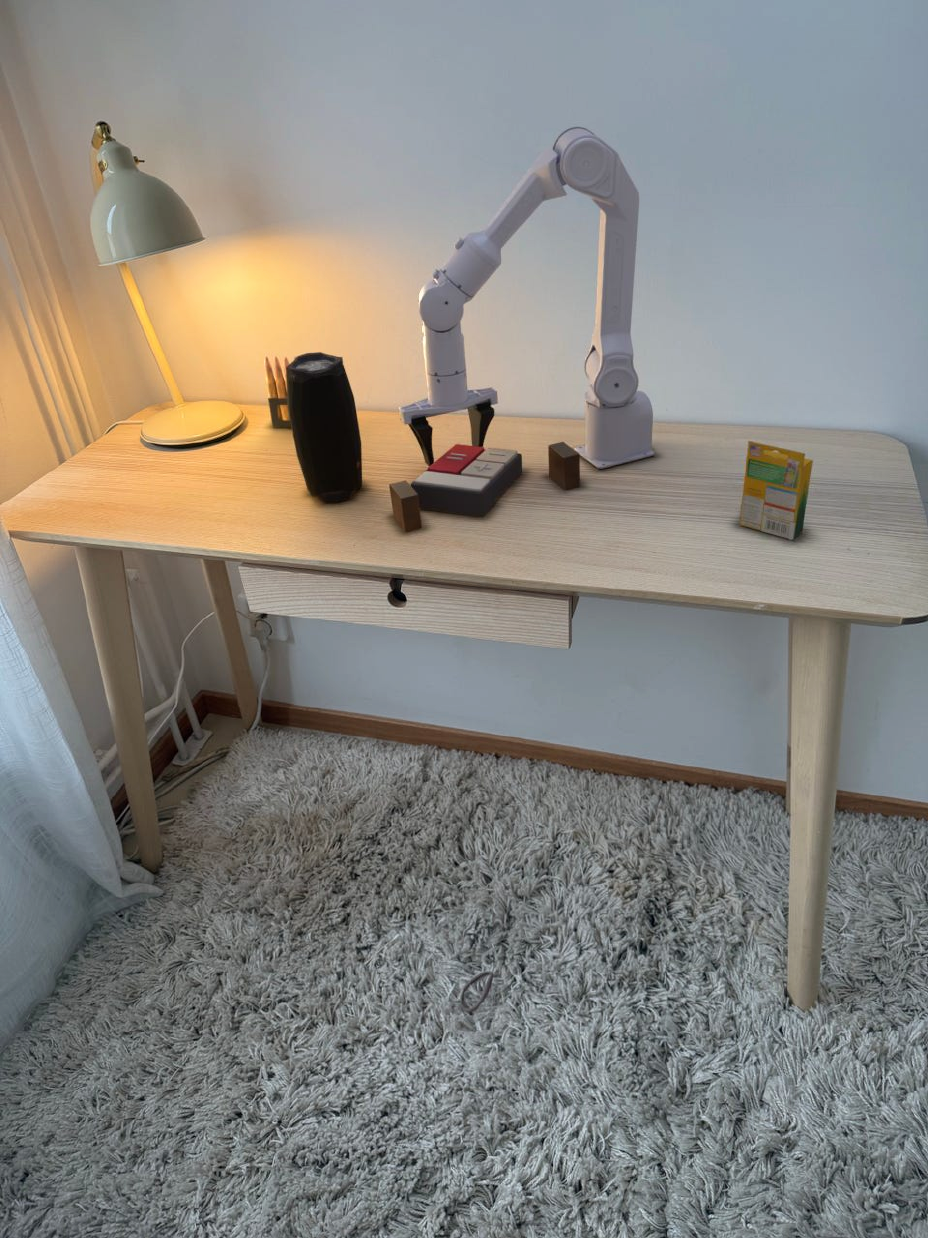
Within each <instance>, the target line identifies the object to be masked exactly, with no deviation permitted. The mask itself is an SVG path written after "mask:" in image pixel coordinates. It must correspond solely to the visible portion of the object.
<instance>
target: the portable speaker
mask: <svg viewBox="0 0 928 1238" xmlns="http://www.w3.org/2000/svg"><path fill="white" fill-rule="evenodd" d="M295 357H296V358H295V359H294V358H293V360H294V361H293V360H292V361H291V362H289V365H288V366H287V367H286V381H287V407H288V413H289V418H290V423H291V427H290V428H291V433H292V438H293V442H294V448H295V453H296V457H297V461H298V465H299V466H300V470H301V473H302V476H303V480H304V482H305V485H306V489H307V491H308V492H309V494H310V495H312V494H313V495H314V496H316V497H318V498H319V499H320V500H322V501H323V502H324V503H326V504H332V503H333V504H334V503H339V502H340V503H341V502H344V501H347V500H350V498H351V496H352V495H353V493H354V492H355V491H356V490H358V489H360V488H363V456H362V453H363V452H362V449H363V448H362V439H361V432H360V426H359V419H358V413H357V407H356V401H355V396H354V393H353V389H352V387H351V384H350V380H349V378H348V374H347V371H346V368H345V364H344V360H343V356H337V355H332V354H327V353H325V352H322V351H318V352H306V353H303V354H300V355H296V356H295Z"/></svg>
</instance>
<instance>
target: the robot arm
mask: <svg viewBox="0 0 928 1238" xmlns="http://www.w3.org/2000/svg"><path fill="white" fill-rule="evenodd" d="M565 186H568V187H569V188H570V189H572V190H574V191H576V192H578V193H581V194H582V195H585V196H588V198H590V199H591V200H592V202H593V203H595V205H596V206H597V207H598V208H599V211H600V212H599V231H598V232H599V234H598V256H597V258H598V259H597V275H596V277H597V280H596V297H595V298H596V301H595V302H596V303H595V322H594V323H595V324H594V330H593V332H592V334H591V344H590V348H589V351H588V353H587V354H586V355H585V358H584V362H583V370H584V374H585V376H586V377H587V379H588V381H589V382H590V384H589V387H588V389H587V390H586V392H585V396H584V400H585V401H584V406H585V407H584V408H585V409H584V411H585V412H584V416H585V418H584V420H585V421H584V423H585V424H584V425H585V426H584V427H585V430H584V431H585V432H584V434H585V435H584V436H585V437H584V438H585V439H584V441H585V443H584V445H580V446H576V447H574V448H573V449H574V450H575V451H576V452H578V453H579V454H580V457H582V458H583V459H584V460H586V461H587V462H588V463H590V464H591V465H593V466H594V467H595V468H597V469H598V470H603V469H607V468H610V467H614V466H618V465H623V464H626V463H631V462H634V461H637V460H641V459H642V460H643V459H645V458H649V457H653V456H654V455H655V451H653V449H652V447H653V424H654V423H653V422H654V411H653V405H652V403H651V399H650V398H649V396H648V395H647V394H646V392H643V391H642V390H638V388H639V383H640V382H639V381H640V380H639V376H638V373H637V371H636V369H635V365H634V357H635V356H634V355H635V353H634V347H633V342H632V341H633V340H632V335H631V334H632V333H631V329H632V316H633V315H632V314H633V301H634V287H635V273H636V272H635V270H636V257H637V256H636V255H637V243H638V242H637V240H638V227H639V226H638V225H639V210H640V192H639V190H638V188H637V187H636V184H635V182H634V181H633V180H632V177H631V176H630V174H629V172H628V170H627V168H626V167H625V165H624V163H623V161H622V160H621V157H620V155H619V153H618V151H617V150H616V149H614V148H613V147H612V146H611V145H609V143H607V142H606V141H604V140H603V139H602V138H601V137H599V136H598V135H596V134H595V133H594V132H592V130H590V129H589V128H586V127H584V126H577V125H576V126H571V127H568V128H566V129H564V130H562V131H561V132H560V133H559V134H558V136H557V137H556V138H555V139H554V142H553V144H552V146H550V145H549V146H547V148H546V149H544V150H543V151H542V152H541V153H540V155H538V157H537V158H536V159H535V161H534V162H533V163H532V165H530V167H529V168H528V169H527V171H526V172H525V173H524V175H523V176H522V178H521V179H520V181H519V182H518V183H517V184H516V186H515V187H514V188H513V190H512V191H511V193H510V194H509V195H508V197H506V199H505V201H504V202H503V203H502V205H501V206H500V207H499V209H498V210H497V211H496V213H494V215H493V217H492V218H491V220H489V222H488V223H487V225H486V226H485V228H484V229H483V230H481V231H474V232H469V233H467V234H466V236H465V237H464V238H462V237H461V236H460V237H458V238H457V239H456V241H455V242H454V243H453V247H454V249H455V250H454V251H453V252H452V253H451V255H450V256H449V257H448V258H447V259H446V261H445V262H444V263H443V265H442V266H441V267H440V269H439V270H438V269H437V268H435V269H433V271H432V273H431V278H432V279H430V280H428V281H427V282H426V283H425V284H424V285H423V286H422V288H421V289H420V292H419V296H418V299H417V303H418V311H419V316H420V318H421V320H422V326H421V329H422V334H423V337H422V348H423V356H424V357H423V358H424V366H425V377H426V386H427V396H428V397H426V398H423V399H421V400H418V401H415V402H413V403H410V404H407V405H404V406H400V407H399V408H398V409H399V410H398V412H399V419H400V421H401V422H402V424H404V425H405V426H406V425H407V426H408V427H409V428H410V431H411V432H412V434H413V436H414V437H415V439H416V441H417V443H418V445H419V447H420V450H421V453H422V456H423V460H424V463H425V464H426V465H427V466H428V467H429V466H431V465H432V464H433V463H434V462H435V457H434V450H433V429H434V428H433V427H432V426H431V425H430V424H429V420H428V418H432V417H436V416H437V417H438V416H441V415H445V414H451V413H455V412H459V411H463V410H467V413H468V418H469V425H470V438H471V446H478V447H484V444H485V440H486V435H487V433H488V430H489V427H490V425H491V422H492V421H493V420H494V417H495V408H494V407H492V406H494V405H497V404H498V403H499V402H498V400H499V399H498V391H497V390H496V389H495V388H493V387H486V388H479V389H469V388H468V375H467V363H466V362H467V361H466V351H465V336H464V334H463V332H462V324H461V321H462V320H463V316H464V308H465V307H464V305H465V304H467V303H469V302H471V301H472V300H473V299H474V297H475V296H476V295H477V294H478V292H479V291H480V290H481V289H483V288H482V287H483V286H484V285H485V284H486V283H487V282H488V280H489V279H490V278H491V277H492V276H493V274H494V273H495V272H496V270H498V268H500V266H501V264H502V248H504V246H505V245H506V244H507V242H508V241H509V240H511V238H512V237H513V236H514V235H515V234H516V232H517V231H518V230H519V229H520V228H521V227H522V226H523V225H524V224H525V222H526V221H527V220H528V219H529V218H530V217H531V216H532V214H534V212H535V211H536V210H537V209H538V208H539V207H540V205H542V203H543V202H545V201H550V200H553V199H557V198H562V197H566V196H567V191H566V190H565V188H564V187H565Z"/></svg>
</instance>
